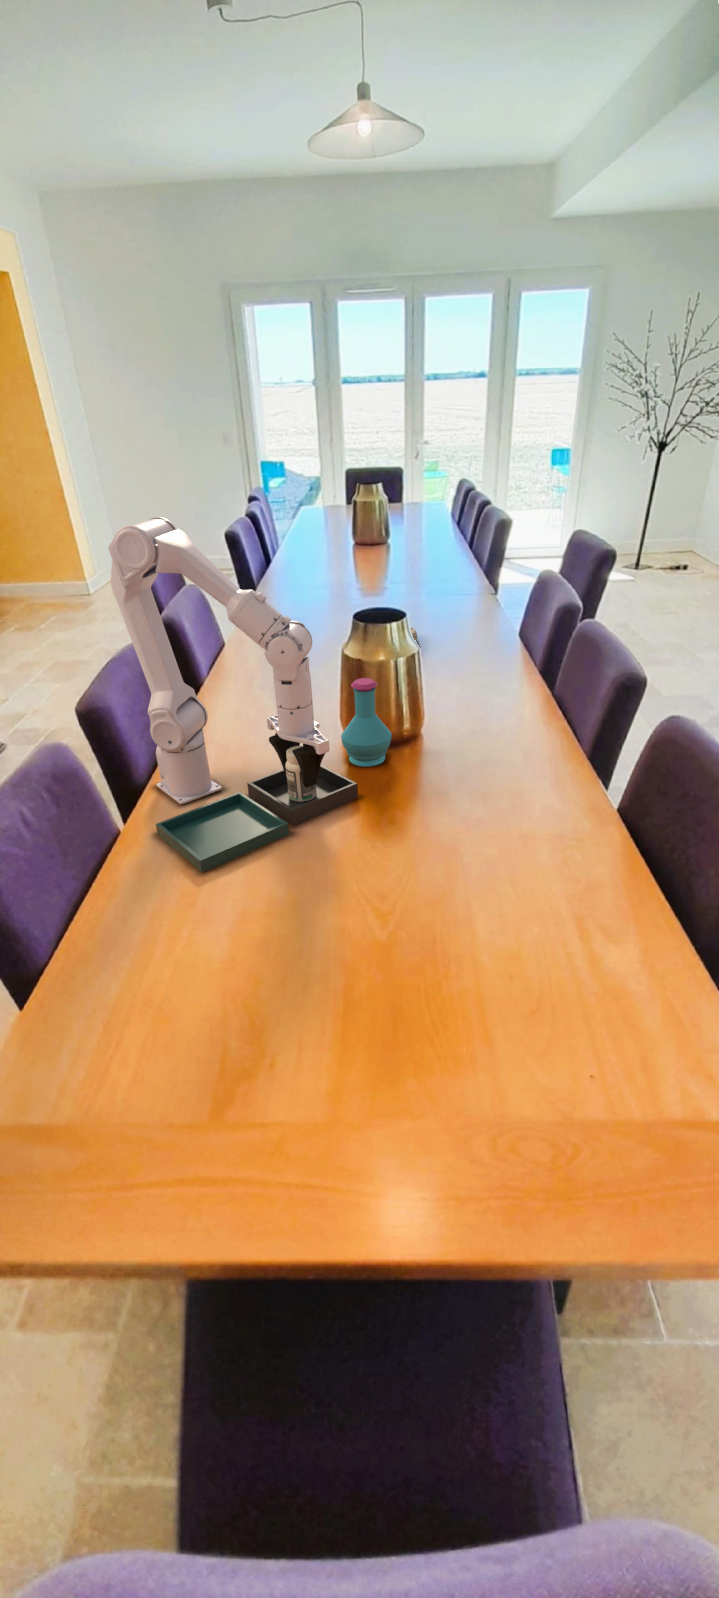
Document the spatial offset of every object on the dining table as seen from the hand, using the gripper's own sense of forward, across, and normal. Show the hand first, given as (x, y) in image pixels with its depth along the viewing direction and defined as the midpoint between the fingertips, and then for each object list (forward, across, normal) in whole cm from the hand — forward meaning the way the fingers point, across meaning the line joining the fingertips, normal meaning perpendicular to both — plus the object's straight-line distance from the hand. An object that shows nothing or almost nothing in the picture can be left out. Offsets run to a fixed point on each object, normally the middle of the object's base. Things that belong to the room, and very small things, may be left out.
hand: (301, 779), depth 119 cm
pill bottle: (+3, 0, 0) cm, 3 cm away
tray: (+3, -1, +16) cm, 16 cm away
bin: (+3, 0, 0) cm, 3 cm away
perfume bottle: (+4, +4, -18) cm, 18 cm away
